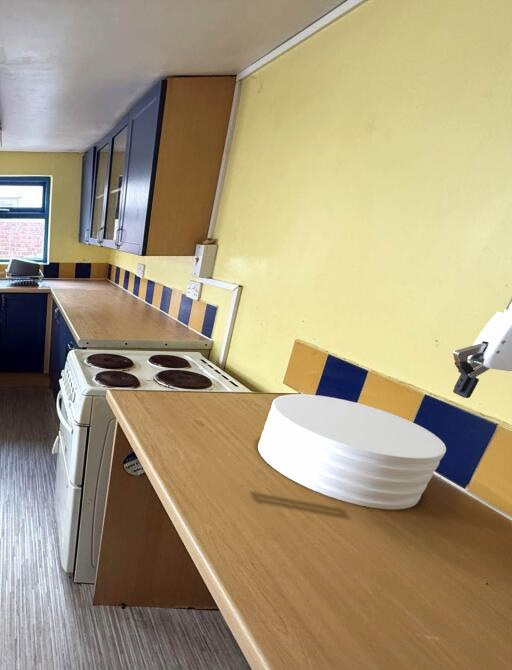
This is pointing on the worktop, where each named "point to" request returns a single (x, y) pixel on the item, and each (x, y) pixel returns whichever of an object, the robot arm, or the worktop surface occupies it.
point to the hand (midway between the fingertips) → (490, 398)
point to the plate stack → (350, 450)
